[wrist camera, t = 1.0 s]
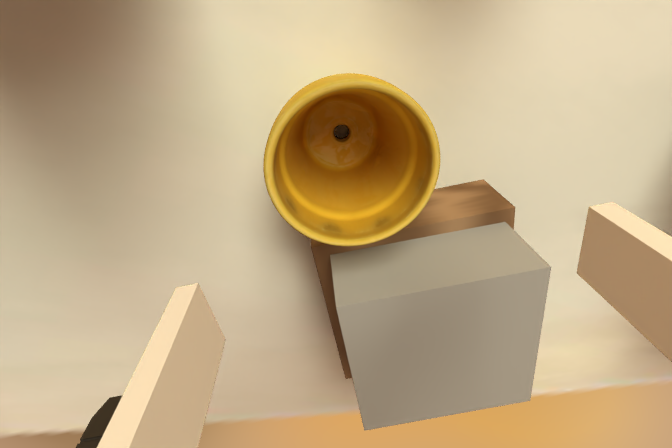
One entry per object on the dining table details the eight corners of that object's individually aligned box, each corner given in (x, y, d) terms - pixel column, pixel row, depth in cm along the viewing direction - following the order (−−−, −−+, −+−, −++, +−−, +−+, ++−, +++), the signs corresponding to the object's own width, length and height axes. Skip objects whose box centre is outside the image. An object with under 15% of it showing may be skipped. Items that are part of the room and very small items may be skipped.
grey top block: (355, 370, 35) (364, 430, 30) (330, 254, 28) (336, 307, 23) (496, 344, 35) (530, 400, 30) (505, 221, 28) (551, 267, 23)
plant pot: (357, 29, 26) (384, 33, 17) (424, 143, 30) (470, 190, 22) (247, 115, 28) (223, 155, 20) (324, 209, 33) (332, 275, 24)
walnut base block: (340, 333, 41) (345, 378, 36) (310, 212, 33) (311, 247, 28) (479, 306, 41) (504, 348, 36) (481, 177, 33) (515, 207, 28)
